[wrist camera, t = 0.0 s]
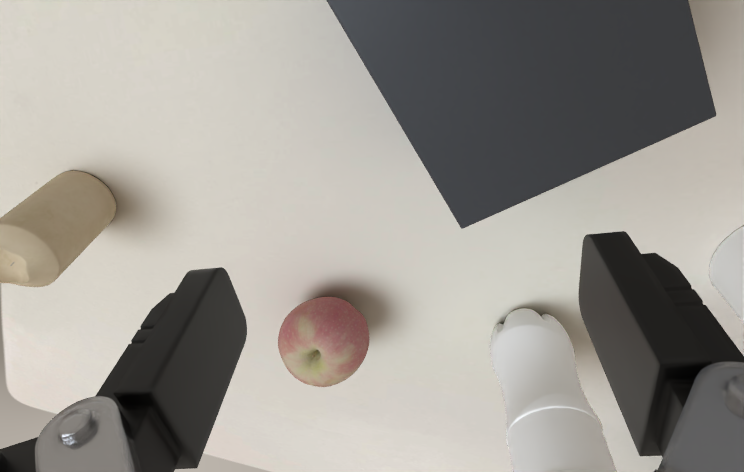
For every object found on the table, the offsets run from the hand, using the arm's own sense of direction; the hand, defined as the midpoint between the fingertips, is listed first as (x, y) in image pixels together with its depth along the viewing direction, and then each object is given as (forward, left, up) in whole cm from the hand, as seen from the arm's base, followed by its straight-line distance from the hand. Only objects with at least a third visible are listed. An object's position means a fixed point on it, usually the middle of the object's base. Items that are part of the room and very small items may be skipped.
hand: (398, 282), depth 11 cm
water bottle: (+26, -12, -27) cm, 40 cm away
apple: (+11, -23, -27) cm, 37 cm away
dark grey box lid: (+2, +5, -17) cm, 18 cm away
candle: (-12, -28, -27) cm, 40 cm away
